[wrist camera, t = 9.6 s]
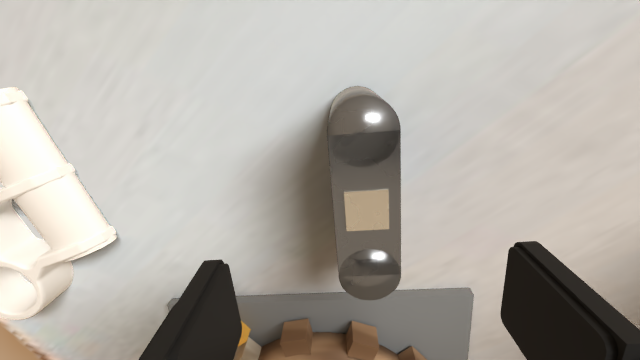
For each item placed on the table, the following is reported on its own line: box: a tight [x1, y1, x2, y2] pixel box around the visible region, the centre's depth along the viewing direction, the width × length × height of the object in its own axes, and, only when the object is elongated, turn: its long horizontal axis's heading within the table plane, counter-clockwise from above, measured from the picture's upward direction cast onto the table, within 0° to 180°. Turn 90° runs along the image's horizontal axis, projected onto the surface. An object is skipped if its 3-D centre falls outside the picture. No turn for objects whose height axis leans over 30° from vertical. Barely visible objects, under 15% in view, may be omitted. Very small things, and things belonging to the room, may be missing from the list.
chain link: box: [327, 86, 401, 300], centre depth 19 cm, size 3×11×6 cm, turn 5°
